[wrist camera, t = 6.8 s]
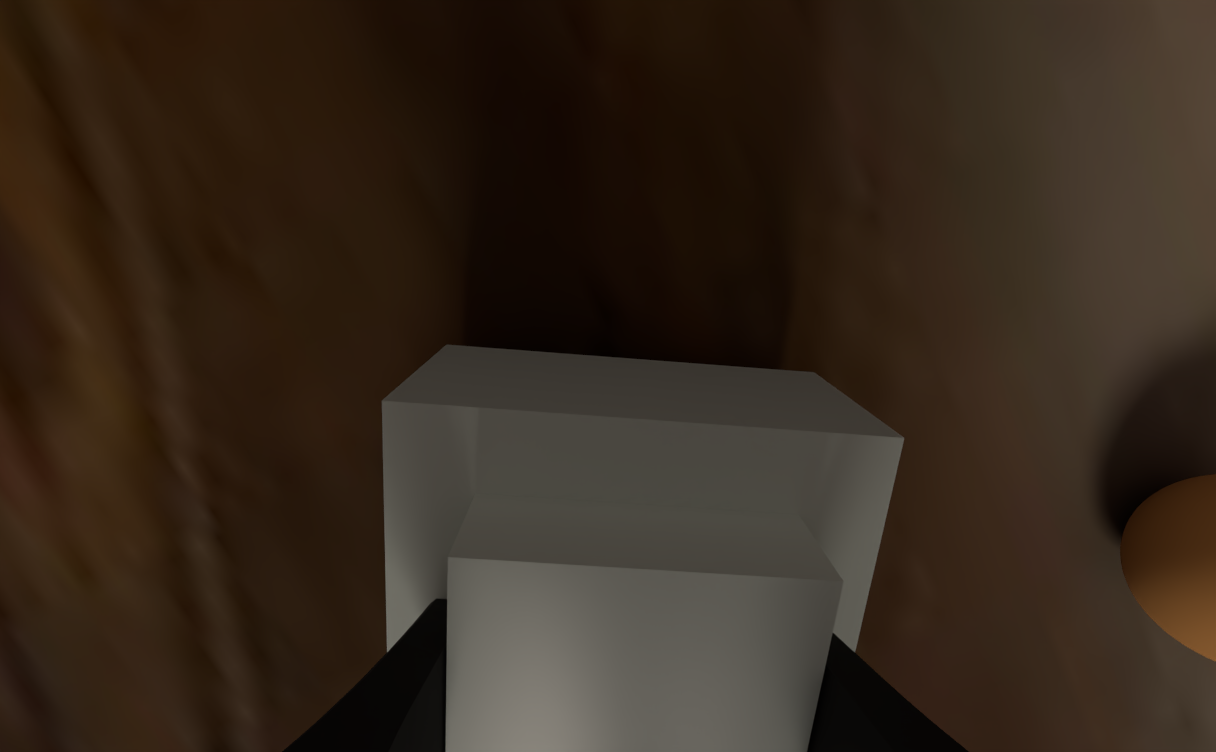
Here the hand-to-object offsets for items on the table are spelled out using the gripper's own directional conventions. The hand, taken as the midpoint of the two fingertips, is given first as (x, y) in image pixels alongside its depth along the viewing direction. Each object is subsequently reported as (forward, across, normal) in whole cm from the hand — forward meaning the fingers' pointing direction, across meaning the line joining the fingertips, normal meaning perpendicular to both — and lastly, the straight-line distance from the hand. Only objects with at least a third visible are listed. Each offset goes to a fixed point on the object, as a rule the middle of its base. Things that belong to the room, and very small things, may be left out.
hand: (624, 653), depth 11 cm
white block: (+5, 0, 0) cm, 5 cm away
